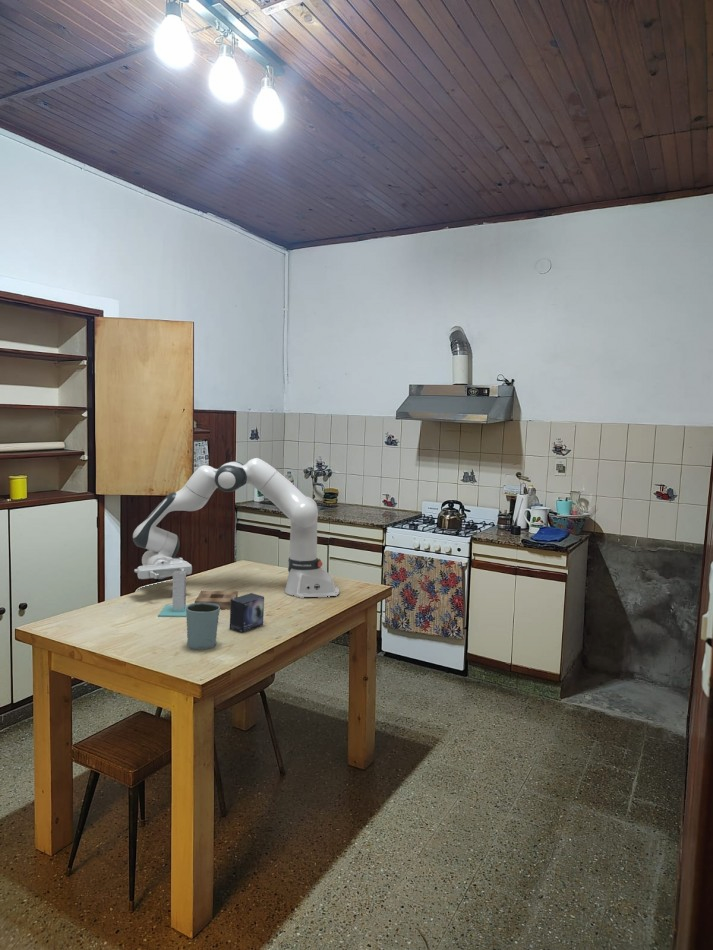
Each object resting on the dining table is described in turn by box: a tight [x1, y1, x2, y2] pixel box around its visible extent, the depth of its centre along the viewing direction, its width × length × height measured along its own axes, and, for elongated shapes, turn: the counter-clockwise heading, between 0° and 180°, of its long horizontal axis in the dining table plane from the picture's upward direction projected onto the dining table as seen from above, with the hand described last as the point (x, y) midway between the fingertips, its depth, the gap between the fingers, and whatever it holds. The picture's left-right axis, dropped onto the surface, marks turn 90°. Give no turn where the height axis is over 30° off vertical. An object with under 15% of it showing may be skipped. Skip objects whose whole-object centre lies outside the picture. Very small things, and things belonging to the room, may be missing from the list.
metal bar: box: [171, 571, 187, 612], centre depth 220 cm, size 4×4×14 cm
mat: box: [157, 604, 189, 618], centre depth 221 cm, size 12×12×1 cm
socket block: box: [194, 590, 239, 611], centre depth 232 cm, size 14×14×3 cm
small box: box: [228, 592, 265, 634], centre depth 207 cm, size 11×6×10 cm, turn 147°
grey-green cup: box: [185, 602, 221, 651], centre depth 190 cm, size 10×10×12 cm
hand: (170, 575), depth 230 cm, fingers open, 8 cm apart
